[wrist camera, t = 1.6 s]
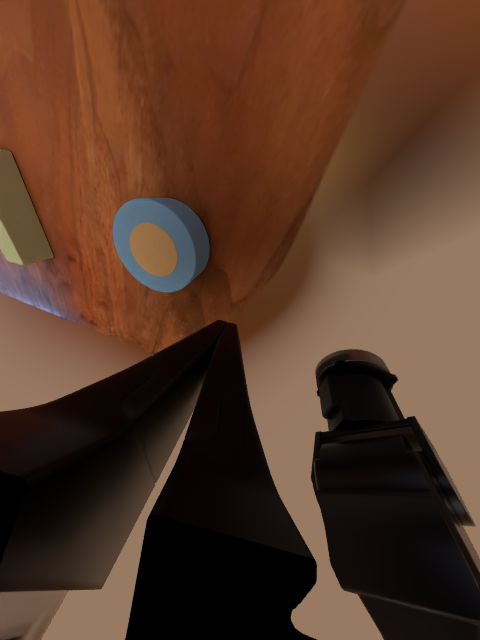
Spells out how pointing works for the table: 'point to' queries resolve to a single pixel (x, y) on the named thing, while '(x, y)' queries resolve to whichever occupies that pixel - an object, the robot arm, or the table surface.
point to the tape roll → (161, 242)
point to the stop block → (19, 218)
